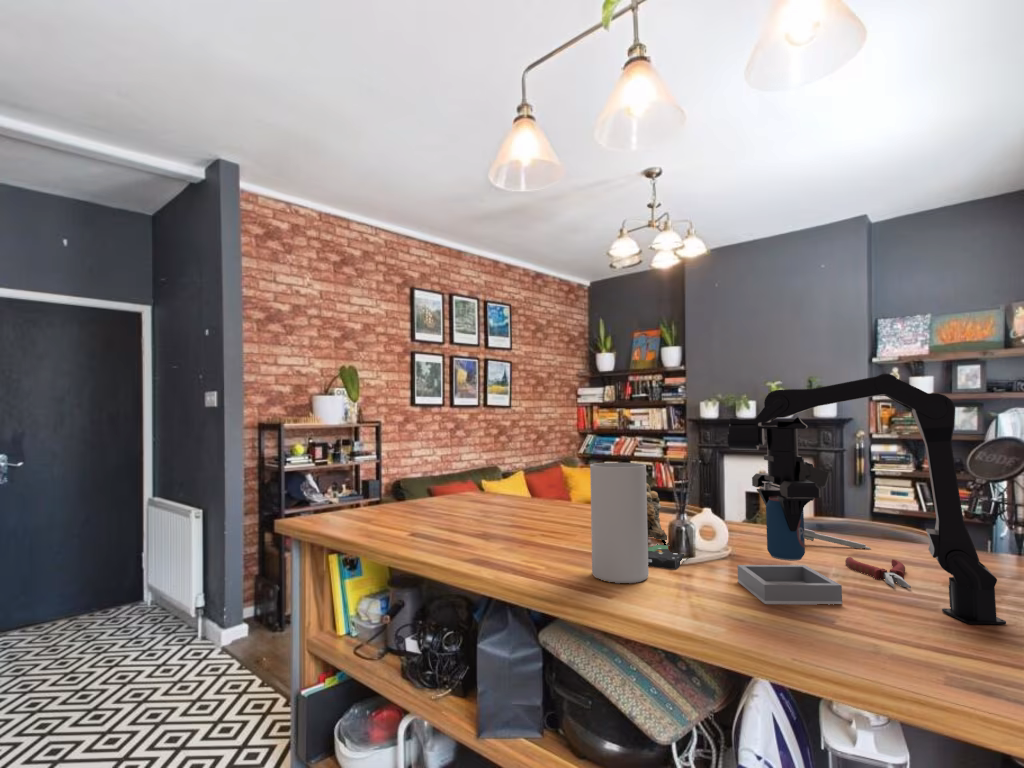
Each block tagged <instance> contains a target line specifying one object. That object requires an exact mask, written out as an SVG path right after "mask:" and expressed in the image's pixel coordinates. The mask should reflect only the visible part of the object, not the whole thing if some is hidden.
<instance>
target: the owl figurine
mask: <svg viewBox="0 0 1024 768" xmlns="http://www.w3.org/2000/svg"><path fill="white" fill-rule="evenodd" d="M646 486H647V529H648V537H654V538H656V539H661V540H664V541H665V540H667V536H668V535H667V533H666V532H665V529H662V525H661V523H660V522H661V519H660V518H661V517H660V511H661V503H660V498H659V494H658V492H657V491H655V490H651V485H649V483H647V482H646Z"/></svg>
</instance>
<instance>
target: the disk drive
mask: <svg viewBox="0 0 1024 768" xmlns="http://www.w3.org/2000/svg"><path fill="white" fill-rule="evenodd" d="M668 546H669V545H668V544H667V545H658V544H657V545H656V546H653V547H648V565H649V566H648V567H653V566H654V568H655V567H656V568H660V569H661V568H662V569H668V570H669V569H671V570H677V569H679V568H680V567H681V565H680V561H681V560H682V558H683V556H684V554H678V553H672V552H670V551H669V549H668Z"/></svg>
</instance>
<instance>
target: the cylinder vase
mask: <svg viewBox="0 0 1024 768" xmlns="http://www.w3.org/2000/svg"><path fill="white" fill-rule="evenodd" d="M589 466H590V468H589V470H590V474H589V475H590V520H591V522H590V523H591V524H590V525H591V526H590V527H591V530H590V531H591V534H590V536H591V574H592V576H594V578H596V579H597V578H599V579H601V580H600V581H602V580H605V581H609V582H608V583H610V582H615V583H614V584H620V583H629V584H637V583H640V582H643V581H646V580H647V579H648V578H649V573H650V572H649V566H648V529H647V486H646V483H647V465H646V464H644V463H638V462H637V463H635V462H598V463H590V465H589ZM599 579H598V580H599ZM605 581H604V582H605ZM636 582H637V583H636Z"/></svg>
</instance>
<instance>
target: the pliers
mask: <svg viewBox="0 0 1024 768" xmlns="http://www.w3.org/2000/svg"><path fill="white" fill-rule="evenodd" d="M845 565H846V566H847V567H848V568H849V569H850V568H851V569H850V570H852V569H853V570H852V571H855V570H856V571H855V572H858V571H859V572H858V573H861V572H862V574H864V573H865V574H864V575H867V574H868V575H867V576H870V575H871V577H873V576H874V577H873V579H874V578H875V579H874V580H876V579H877V580H882V579H885V580H884V581H885V583H886V584H888V585H890V586H891V587H893V588H895V587H896V585H895V582H897V583H896V584H897V585H898V584H899V585H898V586H900V585H901V586H900V587H904V588H908V589H911V588H912V587H911V585H910V584H909V583H908V582H907V581H906V580H905V573H906V567H905V565H904V564H903V563H902V562H900V561H899V560H898V559H891V567H892V566H893V567H892V568H890V569H889V572H888V570H887V569H885V568H883V567H882V568H880V567H877V566H874V565H870V564H868V563H865V562H862V561H858V560H856V559H854V558H853V557H851V556H848V557H846V558H845Z"/></svg>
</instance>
